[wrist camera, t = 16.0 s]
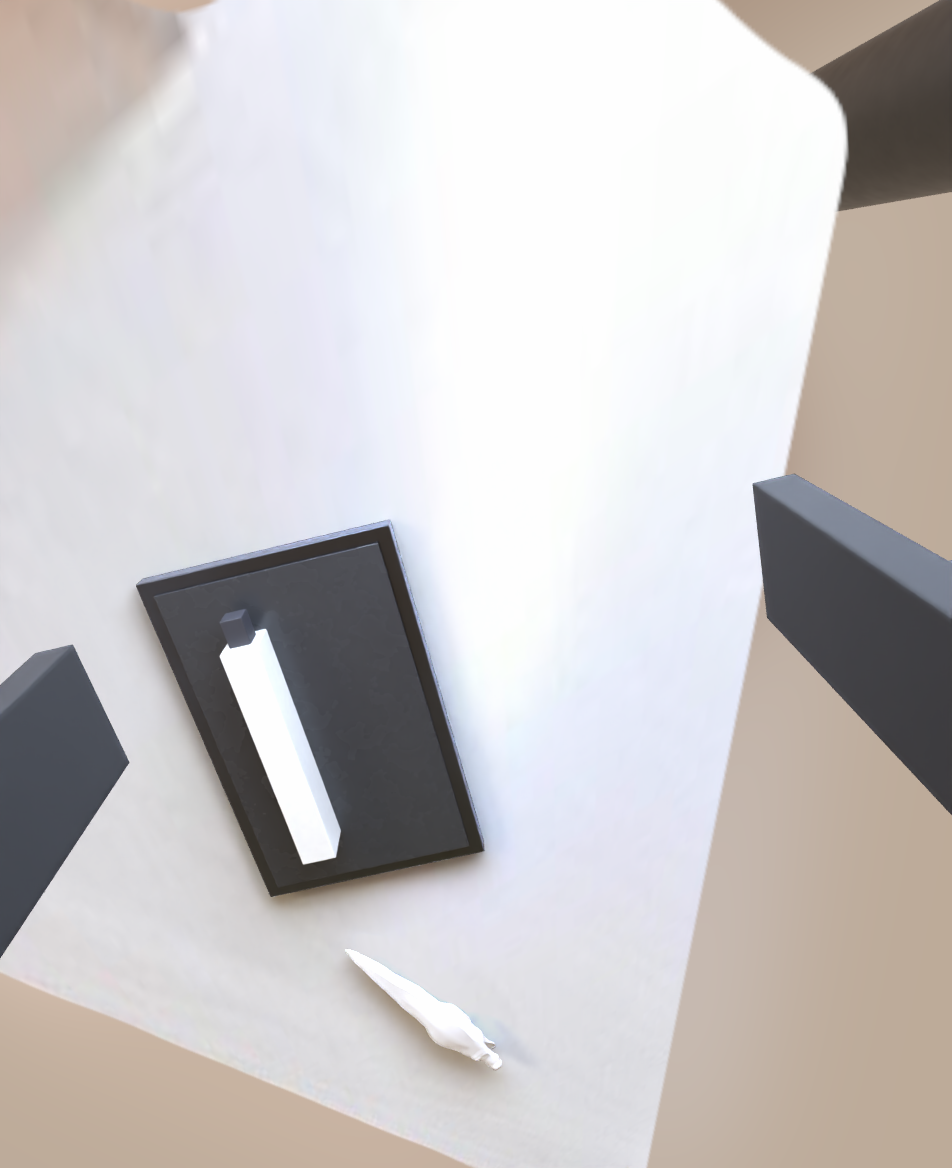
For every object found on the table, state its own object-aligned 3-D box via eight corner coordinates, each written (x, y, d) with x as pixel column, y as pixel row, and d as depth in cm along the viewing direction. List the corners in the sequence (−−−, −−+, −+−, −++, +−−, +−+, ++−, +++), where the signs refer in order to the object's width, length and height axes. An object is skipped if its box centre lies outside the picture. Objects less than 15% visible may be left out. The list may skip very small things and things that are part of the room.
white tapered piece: (512, 1040, 56) (514, 1064, 54) (485, 1059, 57) (486, 1084, 55) (360, 928, 52) (357, 950, 50) (333, 949, 53) (329, 972, 51)
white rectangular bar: (256, 602, 42) (245, 620, 40) (341, 830, 48) (336, 857, 45) (221, 610, 42) (208, 629, 40) (309, 837, 48) (303, 865, 45)
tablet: (390, 519, 42) (388, 525, 41) (484, 841, 50) (484, 853, 49) (141, 578, 42) (133, 586, 41) (273, 886, 50) (269, 899, 49)
